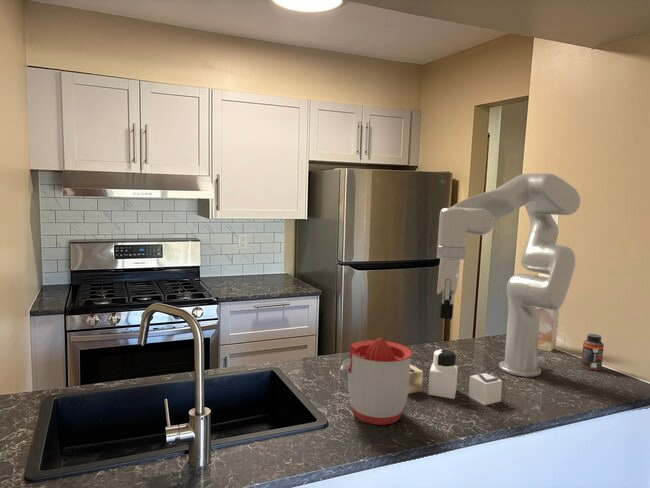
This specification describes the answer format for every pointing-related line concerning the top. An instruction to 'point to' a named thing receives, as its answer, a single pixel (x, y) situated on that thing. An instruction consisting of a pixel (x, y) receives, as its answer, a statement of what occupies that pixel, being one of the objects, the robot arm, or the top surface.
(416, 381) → the maple block one
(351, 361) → the citrus juicer
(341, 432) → the top surface
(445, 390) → the medicine bottle
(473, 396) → the white marked cube
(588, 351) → the supplement bottle
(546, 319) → the coffeecake box
